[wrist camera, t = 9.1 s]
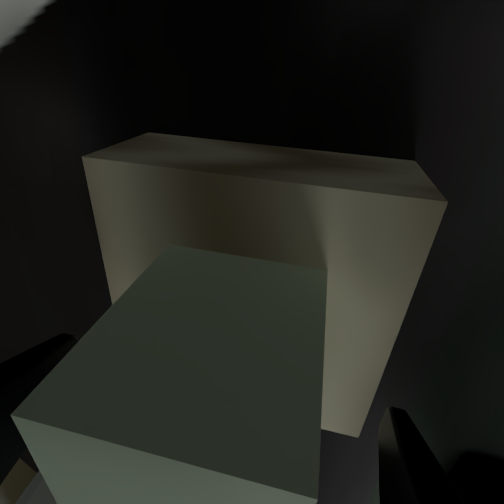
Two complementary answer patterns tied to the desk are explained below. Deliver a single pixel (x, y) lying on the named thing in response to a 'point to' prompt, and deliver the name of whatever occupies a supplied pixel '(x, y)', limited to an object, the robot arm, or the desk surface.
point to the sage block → (189, 389)
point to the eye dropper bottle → (37, 492)
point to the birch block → (279, 234)
